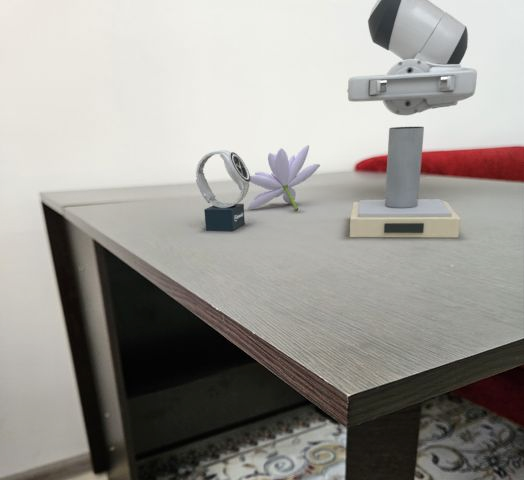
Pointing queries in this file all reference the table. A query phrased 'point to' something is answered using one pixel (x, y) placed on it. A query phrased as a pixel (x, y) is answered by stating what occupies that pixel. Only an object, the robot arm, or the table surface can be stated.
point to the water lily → (282, 177)
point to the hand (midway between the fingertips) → (413, 84)
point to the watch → (221, 213)
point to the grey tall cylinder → (403, 166)
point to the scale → (404, 220)
